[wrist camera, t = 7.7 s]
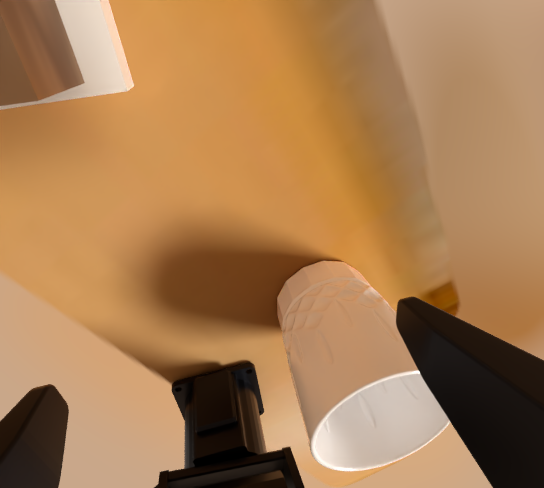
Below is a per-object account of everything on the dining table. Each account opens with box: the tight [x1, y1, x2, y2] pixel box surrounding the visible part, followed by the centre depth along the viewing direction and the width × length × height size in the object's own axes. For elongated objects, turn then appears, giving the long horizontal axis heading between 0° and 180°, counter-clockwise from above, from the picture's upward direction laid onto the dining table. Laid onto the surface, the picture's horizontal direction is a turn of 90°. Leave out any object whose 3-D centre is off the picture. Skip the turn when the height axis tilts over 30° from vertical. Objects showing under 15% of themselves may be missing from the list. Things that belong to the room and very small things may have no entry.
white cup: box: [277, 261, 450, 471], centre depth 21 cm, size 8×8×10 cm
